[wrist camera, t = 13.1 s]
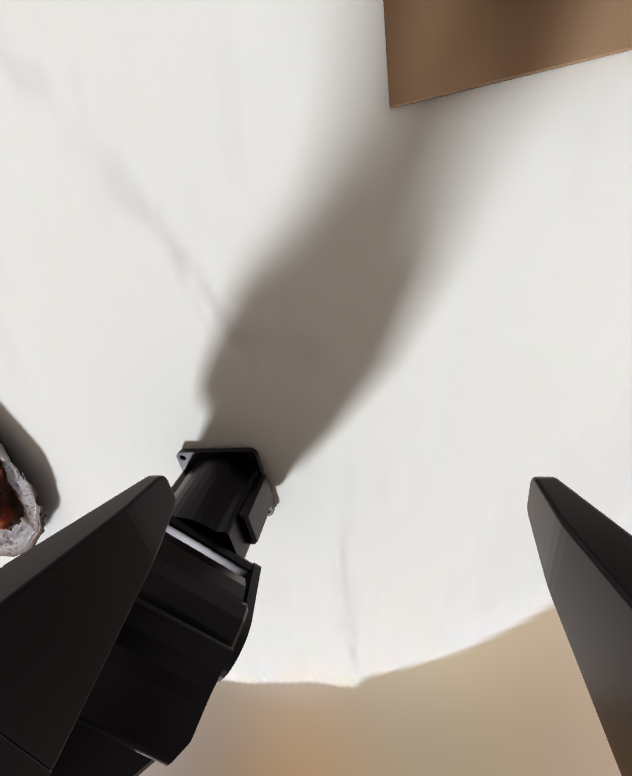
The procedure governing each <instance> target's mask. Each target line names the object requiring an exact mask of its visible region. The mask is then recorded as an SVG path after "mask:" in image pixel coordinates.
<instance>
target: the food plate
mask: <svg viewBox="0 0 632 776" xmlns="http://www.w3.org/2000/svg"><path fill="white" fill-rule="evenodd" d="M22 476H23V477H24V474H23V472H22ZM22 476H21V475H20V473H19V471H18V469H17V468H16V467H15V466H14V465H13V464H12V463H11V461H10V458H9V456H8V454H7V453H6V450H5V449H4V447H3V445H2V444H0V556H12V557H13V556H14V557H15V556H18V555H20V554H23V553H25V552H26V551H28V550H29V549H31V548H33V547H34V546H35V545H36V543H37V541H38V538H39V537H40V535H41V534H42V533H43V532H44V531H45V530H44V529H43V528H44V526H45V523H44V520H43V519H44V518H45V516H48V515H45V516H44V517H43V518H42V519H40V518H39V516H41V514H42V511H43V507H42V506H38V505H37V504H36V502H35V499H37V498H38V492H37V491H36V490H35V489H34V488H33V486H32V485H31V484H29V483H28V482H27V480H26V478H25V477H24V480H23V478H22Z"/></svg>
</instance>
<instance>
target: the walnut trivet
mask: <svg viewBox="0 0 632 776" xmlns="http://www.w3.org/2000/svg"><path fill="white" fill-rule="evenodd" d="M383 1H384V18H385V35H386V52H387V69H388V85H389V102H390V109H391V108H395V107H399V106H403V105H407V104H411V103H415V102H420V101H424V100H428V99H432V98H436V97H440V96H444V95H448V94H452V93H457V92H461V91H465V90H469V89H473V88H477V87H481V86H485V85H489V84H494V83H498V82H502V81H506V80H510V79H514V78H518V77H522V76H526V75H531V74H535V73H539V72H543V71H547V70H551V69H555V68H559V67H563V66H568V65H572V64H576V63H580V62H584V61H588V60H592V59H596V58H600V57H605V56H609V55H613V54H617V53H621V52H625V51H629V50H632V0H383Z"/></svg>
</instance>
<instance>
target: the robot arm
mask: <svg viewBox="0 0 632 776" xmlns="http://www.w3.org/2000/svg"><path fill="white" fill-rule="evenodd" d="M249 454H250V455H252V456H250V455H249ZM177 459H178V461H179V463H180V466H181V468H182V470H183V472H182V474H181V475H180V476H179V478H178V479H177V481H176V482H175V483H174V485H173V486H172V487H170V485H169V483H168V480H167V479H166V478H165V477H164V476H161V475H152V476H148V477H146V478H144V479H143V480H141V481H140V482H138V483H136V484H135V485H133V486H131V487H130V488H128V489H127V490H125V491H123V492H122V493H120V494H119V495H117V496H115V497H114V498H112V499H110V500H109V501H107V502H106V503H104V504H102V505H101V506H99V507H97V508H96V509H94V510H93V511H91V512H89V513H88V514H86V515H84V516H83V517H81V518H80V519H78V520H76V521H75V522H73V523H72V524H70V525H68V526H67V527H65V528H63V529H62V530H60V531H59V532H57V533H55V534H54V535H52V536H50V537H49V538H47V539H46V540H44V541H42V542H41V543H39V544H37V545H36V546H34V547H33V548H31V549H29V550H28V551H26V552H25V553H23V554H21V555H20V556H18V557H16V558H15V559H13V560H12V561H10V562H8V563H7V564H5V565H4V566H3V567H2V568H0V776H139V775H140V774H141V773H142V772H143V771H144V770H145V769H147V768H148V767H149V766H150V765H151V764H152V763H154V762H155V761H157V762H159V763H161V764H163V765H165V766H167V765H169V764H170V763H172V762H173V760H174V759H175V758H176V757H177V756H178V755H179V754H180V753H181V752H182V751H183V750H184V749H185V747H186V746H187V745H188V744H189V743H190V741H191V740H192V737H193V735H194V733H195V730H196V728H197V725H198V723H199V721H200V718H201V716H202V713H203V711H204V709H205V706H206V704H207V701H208V699H209V697H210V695H211V693H212V691H213V688H214V687H215V685H216V683H217V682H219V681H221V680H222V679H223V678H224V677H225V676H226V675H227V674H228V673H229V671H230V670H231V668H232V667H233V665H234V663H235V662H236V660H237V658H238V656H239V654H240V652H241V650H242V648H243V646H244V644H245V641H246V639H247V636H248V633H249V630H250V626H251V622H252V617H253V611H254V606H255V600H256V594H257V588H258V583H259V577H260V571H261V566H259V565H257V564H256V563H251V562H249V561H248V560H246V559H245V556H246V554H247V551H248V549H249V546H250V544H256V542H257V541H258V539H259V537H260V534H261V531H262V529H263V526H264V523H265V521H266V518H267V516H270V515H272V514H273V513H274V510H275V507H274V504H273V495H272V492H271V489H270V485H269V482H268V479H267V476H266V475H265V473H264V472H263V468H262V465H261V462H260V459H259V455H258V453H257V451H256V450H255V449H252V448H226V449H182V450H180V451H179V452H178V454H177ZM527 509H528V516H529V519H530V523H531V527H532V531H533V534H534V538H535V542H536V546H537V549H538V553H539V557H540V560H541V564H542V568H543V572H544V575H545V579H546V582H547V586H548V589H549V591H550V594H551V597H552V600H553V602H554V605H555V607H556V610H557V612H558V615H559V617H560V620H561V623H562V625H563V627H564V630H565V632H566V635H567V638H568V640H569V643H570V645H571V648H572V651H573V653H574V656H575V658H576V661H577V663H578V666H579V668H580V671H581V673H582V676H583V679H584V681H585V684H586V686H587V689H588V691H589V694H590V696H591V699H592V701H593V704H594V707H595V709H596V712H597V714H598V717H599V719H600V722H601V724H602V727H603V729H604V732H605V734H606V737H607V740H608V742H609V745H610V747H611V750H612V752H613V755H614V757H615V760H616V762H617V765H618V767H619V770H620V772H621V775H622V776H632V535H630V534H629V533H628V532H627V531H625V530H624V529H623V528H621V527H620V526H619V525H617V524H616V523H615V522H613V521H612V520H611V519H609V518H608V517H607V516H605V515H604V514H603V513H602V512H600V511H599V510H598V509H596V508H595V507H594V506H592V505H591V504H590V503H588V502H587V501H586V500H584V499H583V498H582V497H581V496H579V495H578V494H577V493H575V492H574V491H573V490H571V489H570V488H569V487H567V486H566V485H565V484H563V483H562V482H561V481H559V480H558V479H557V478H554V477H534V478H532V480H531V483H530V490H529V497H528V504H527Z"/></svg>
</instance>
